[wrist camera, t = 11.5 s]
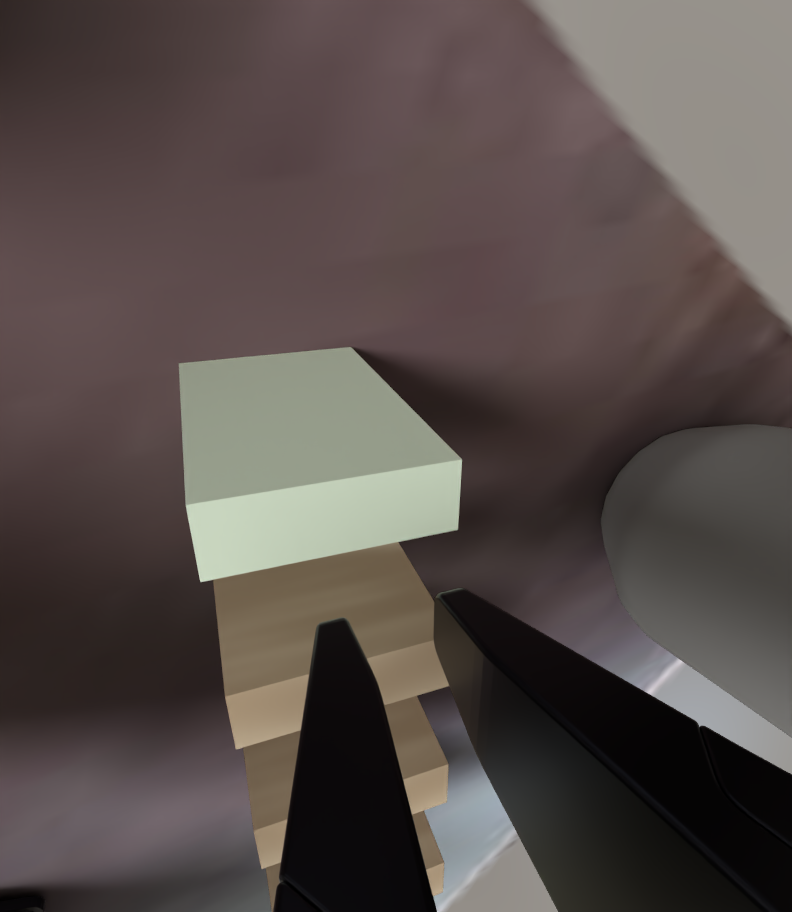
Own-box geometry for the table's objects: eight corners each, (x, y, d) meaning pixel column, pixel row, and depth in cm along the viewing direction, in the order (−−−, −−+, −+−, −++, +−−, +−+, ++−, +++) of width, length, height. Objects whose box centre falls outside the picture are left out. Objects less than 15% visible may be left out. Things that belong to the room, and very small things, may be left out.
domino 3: (363, 611, 23) (446, 801, 16) (232, 643, 21) (261, 869, 14) (362, 578, 22) (448, 764, 15) (225, 609, 20) (253, 830, 14)
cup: (522, 548, 24) (715, 757, 16) (659, 352, 22) (967, 469, 13) (655, 601, 29) (857, 783, 20) (778, 443, 27) (1061, 573, 18)
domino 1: (352, 396, 18) (457, 529, 12) (187, 416, 17) (200, 581, 10) (350, 347, 18) (462, 459, 11) (178, 363, 16) (185, 505, 10)
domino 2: (358, 513, 20) (451, 685, 14) (212, 541, 19) (236, 749, 12) (357, 473, 20) (453, 634, 13) (204, 500, 18) (225, 696, 12)
